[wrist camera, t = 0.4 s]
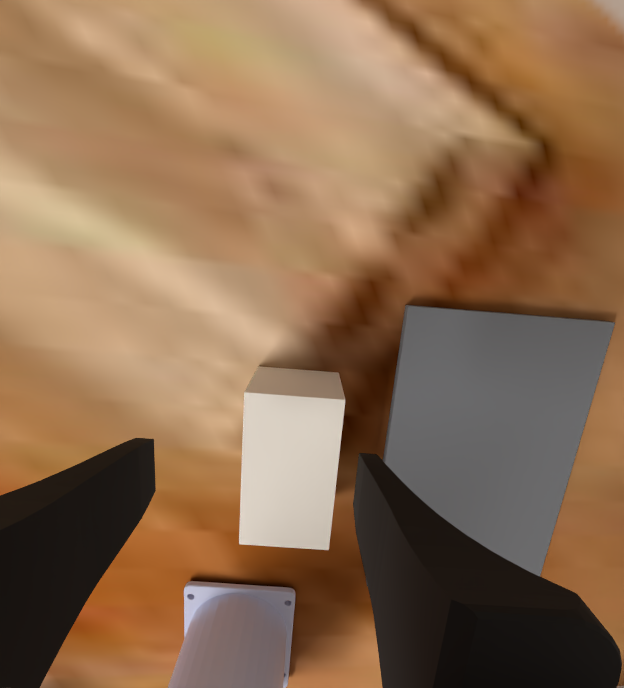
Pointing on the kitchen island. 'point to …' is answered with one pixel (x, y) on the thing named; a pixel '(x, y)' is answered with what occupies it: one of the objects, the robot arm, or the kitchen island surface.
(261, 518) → the block
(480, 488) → the mat
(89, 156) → the kitchen island surface
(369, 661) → the kitchen island surface
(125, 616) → the kitchen island surface
